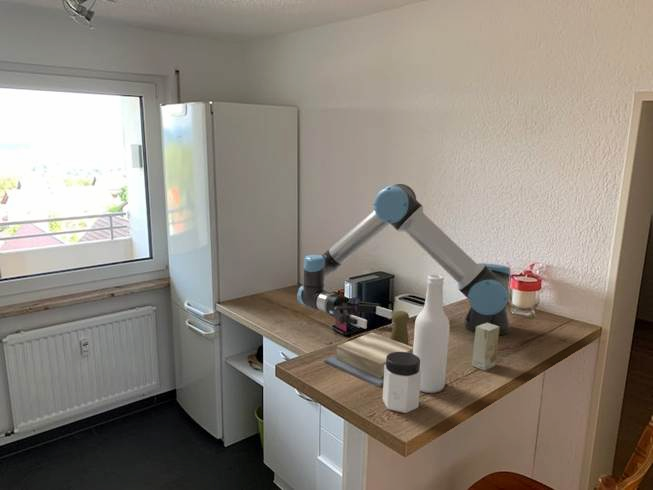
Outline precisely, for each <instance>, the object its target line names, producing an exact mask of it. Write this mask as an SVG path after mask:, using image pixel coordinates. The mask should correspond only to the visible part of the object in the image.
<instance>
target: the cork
mask: <svg viewBox="0 0 653 490" xmlns="http://www.w3.org/2000/svg"><path fill="white" fill-rule="evenodd" d="M409 319H410V315H409V313H408V312H406V311H404V310H395V311H393V316H392V321H393V325H392V328H391V329H392V330H391V334H390V339H391V340H394V341H397V342H400V343H403V344H405V345H408V346H409V334H408V333H409V331H408V322H409V321H410V320H409Z"/></svg>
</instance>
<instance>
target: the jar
mask: <svg viewBox="0 0 653 490" xmlns="http://www.w3.org/2000/svg"><path fill="white" fill-rule="evenodd" d="M420 379H421V372H420V359H419V357H417V356H416V355H414V354H411V353H407V352H393V353H390V354H388V355H387V357H386V365H385V367H384V383H383V385H382V387H383V388H382V401H383V403H384V405H385V406H386V409H387V410H391V411H394V412H395V411H396V412H399V413H405V414H407V413H409V412H411V411H413V410H416V409H418V408H419V406H420V405H419V403H420V392H421V391H420Z"/></svg>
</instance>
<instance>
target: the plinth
mask: <svg viewBox="0 0 653 490" xmlns="http://www.w3.org/2000/svg"><path fill="white" fill-rule="evenodd" d="M393 352H407V353H411V354H413V346H411V345H409V344H408V345H405V344H403V343H400V342H397V341H394V340H391V338H389V337H385V336H384V335H380V334H378V333H374V332H370V333H367V334H364V335H362V336H359V337H356V338H355V339H351V340H349V341H347V342H344V343H341V344H339V345H337V346H336V354H334V355H333V356H330V357H328V358H325V359H324V361H323V363H325V364H327V365H330V366H332V367H334V368H337V369H339V370H341V371H343V372H345V373H348V374H350V375H352V376H354V377H356V378H358V379H361V380H363V381H365V382H368V383H370V384H372V385H373V386H376V387H382V386H383V383H384V367H385V365H386V357H387V355H388V354H390V353H393Z"/></svg>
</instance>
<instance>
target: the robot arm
mask: <svg viewBox="0 0 653 490" xmlns="http://www.w3.org/2000/svg"><path fill="white" fill-rule="evenodd" d="M373 201H374V202H373V208H374V209H373V210H372V212H370V213H369V214H368V215H366V217H365V218H363V219H362V220H361V221H360V222H359V223H357V225H355V226H354V227H353V228H351V230H350V231H348V232H347V233H346V234H345V235H344V236H343V237H342V238H340V240H338V241H337V242H336V243H334V244H333V245H332V246H331V247H330V248H328V250H326V251H325V252H324V253H323V254H322V255H321V254H309V255H306V256H305V257H304V261H303V285H301V286H300V287H299V288H298V292H297V294H296V298H297V302H298V303H300V304H301V305H303V306H305V307H307V308H312V309H314V310H317V311H320V312H322V313H324V314H329V315H330V316H331V317H332V318H334V319H335V320H336V321H337V322H338V323H340V325H344V324H345V326H349V325H350V324H351V325H354V326H356V327H360V328H362V329H367V327H368V326H367V325H368V320H367V319H365V318H363V317H359V316H356V315H354V314H359V313H371V314H376V315H378V316H381V317H384V318H386V319H390V320H393V318H392V316H393V313H394V311H393V310H392V309H388V308H386V307H381V303H379V302H369V301H360V300H356V299H355V300H353V302H352V301H347V298H346V297H345V296H343V295H340V294H338V293H334V292H332V291H328V290H325V289H324V288H325V278H326V276H328V275H329V274H331V273H334V272H335V271H337V269H338V268H339V267H340V266H341V265H342V264H343V263H344V262H346V261H348V259H349V258H351V257H352V256H353V255H354V254H355V253H357V252H358V251H359V250H360V249H361V248H363V247H364V246H365V245H366V244H368V243H369V242H370V241H371V240H372V239H373V238H375V237H376V236H377V235H378V234H380V232H382V231H383V230H384V229H386V227H388V226H389V225H390V226H392V227H393V228H394V229H395V230H396V231H397V232H404V233H406V234H407V236H409V237H410V238H411V239H412V240H413V241H414V242H415V243H416V244H417V245H418V246H419V247H420V248H422V250H423V251H425V253H426V254H428V256H430V257H431V258H432V259H433V260H434V261H435V262H436V263H437V264H438V265H439V266H440V267H441V268H442V269H443V270H444V271H445V272H446V273H448V274H449V275H450V277H451V278H452V279H454V280H455V281H456V282H457V286H458V291H460V293H462V295H463V296H464V297H466V299H467V300H468V303H469V306H470V308H469V309H468V310H467V314H466V316H465V318H464V327H465V328H466V329H467V330H469V331H471V332H473V333H475V331H476V326H479V325H481V324H485V323H490V324H493V325H496V326H499V327H500V328H499V336H503V335H507V334H508V333H510V319H509V316H508V312H507V305H508V301H509V288H510V287H509V286H510V277H511V269H510V267H509V266H507V265H502V264H496V263H495V264H494V263H477V262H476V261H474V259H472V258H471V257H470V255H468V254H467V253H466V252H465V251H464V250H463V249H462V248H461V247H460V246H459V245H457V243H456V242H454V240H452V238H450V237H449V236H448V235H447V234H446V233H445V232H444V231H443V230H442V229H441V228H440V227H439V226H438V225H436V224H435V222H433V221H432V220H431V218H429V217H428V216H427V215H426V214H425V213H424V206H423V205H422V204H421V203H420V202H419V200H417V196H416V193H415V190H413V189H412V188H411V187H410V186H409V185H407V184H403V183H396V184H394V185H393V184H392V185H388V186H385V187H384V188H383V187H382V189H381V190H379V192H378V193H377V194H376V196H375V198H374V200H373Z"/></svg>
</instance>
